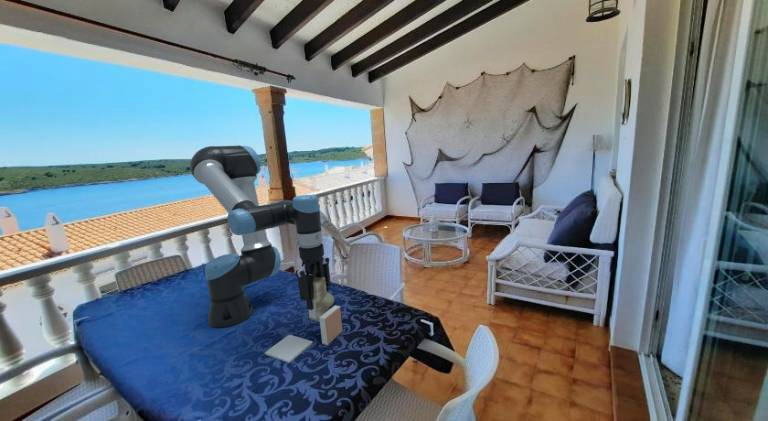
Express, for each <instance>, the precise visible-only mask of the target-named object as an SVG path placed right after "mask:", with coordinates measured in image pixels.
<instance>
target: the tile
mask: <svg viewBox="0 0 768 421" xmlns="http://www.w3.org/2000/svg"><path fill="white" fill-rule="evenodd" d="M341 312H342V311H341V306H340V305H332V306H331V308H329V310H328V311H327V312H326V313H324V314H323V315H322V316H320V317H319V319H320V322H319V326H320V327H319V328H320V335H321V336H320V337H321V343H322V345H326V346H328V345H330V344H331V343H332V342H333V341H334V340H335V339H336V338H337V337H338V336H339V335H340V334H342V332H343V322H342V313H341Z"/></svg>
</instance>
